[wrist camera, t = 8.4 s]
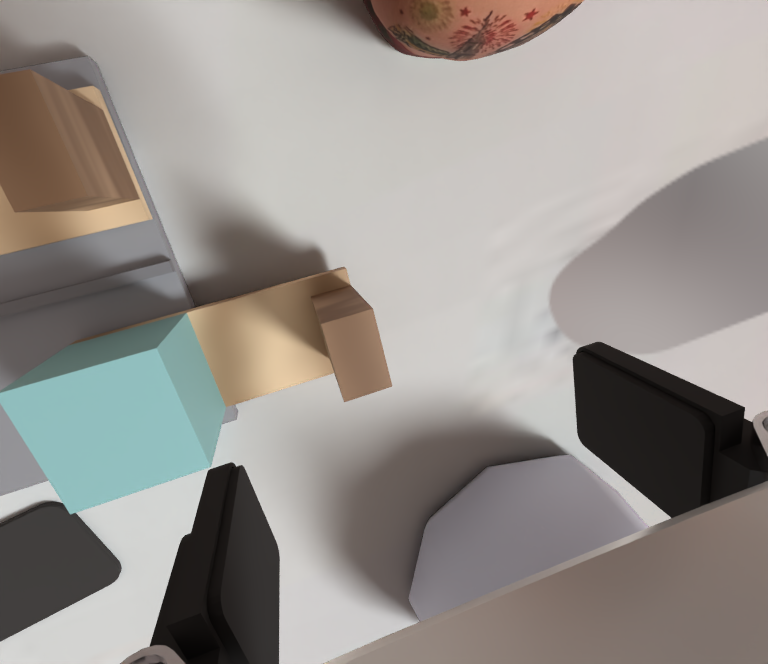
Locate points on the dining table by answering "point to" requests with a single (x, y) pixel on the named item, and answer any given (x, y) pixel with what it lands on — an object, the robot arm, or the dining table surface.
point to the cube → (119, 412)
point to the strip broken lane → (60, 165)
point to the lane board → (80, 287)
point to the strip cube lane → (290, 338)
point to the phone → (48, 565)
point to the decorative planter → (464, 25)
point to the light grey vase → (515, 529)
